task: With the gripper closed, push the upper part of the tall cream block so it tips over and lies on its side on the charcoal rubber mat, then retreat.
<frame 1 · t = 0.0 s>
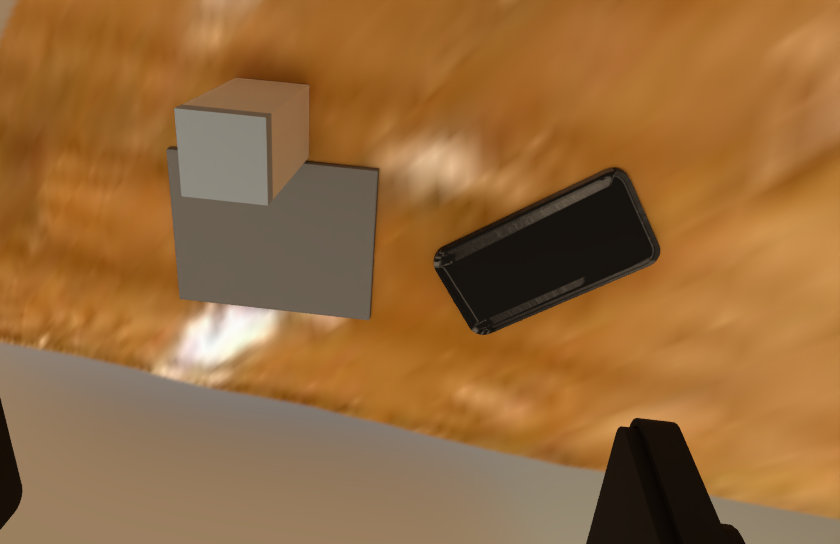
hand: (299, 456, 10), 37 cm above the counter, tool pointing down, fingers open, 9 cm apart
mat: (275, 235, 49), on the counter
phone: (543, 251, 48), on the counter
block: (273, 118, 45), on the counter
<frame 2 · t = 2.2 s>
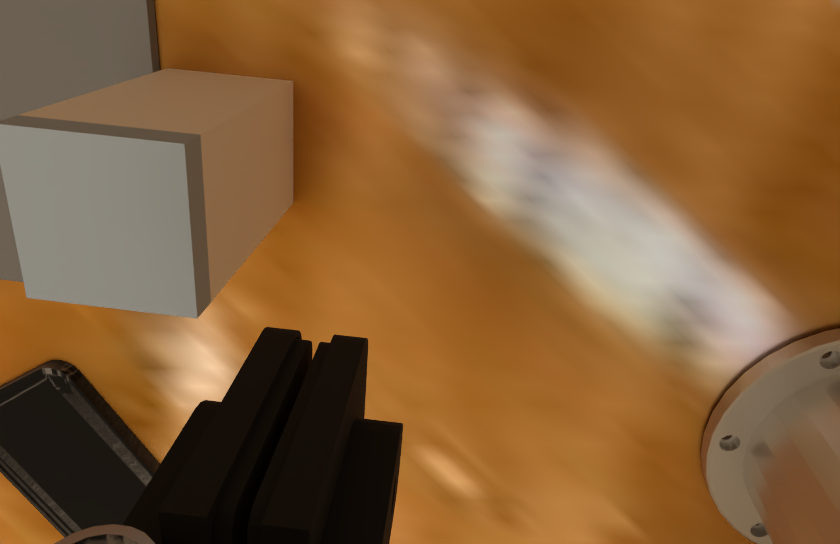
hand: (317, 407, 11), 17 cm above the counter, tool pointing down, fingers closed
mat: (23, 115, 27), on the counter
phone: (109, 479, 36), on the counter
block: (232, 137, 26), on the counter
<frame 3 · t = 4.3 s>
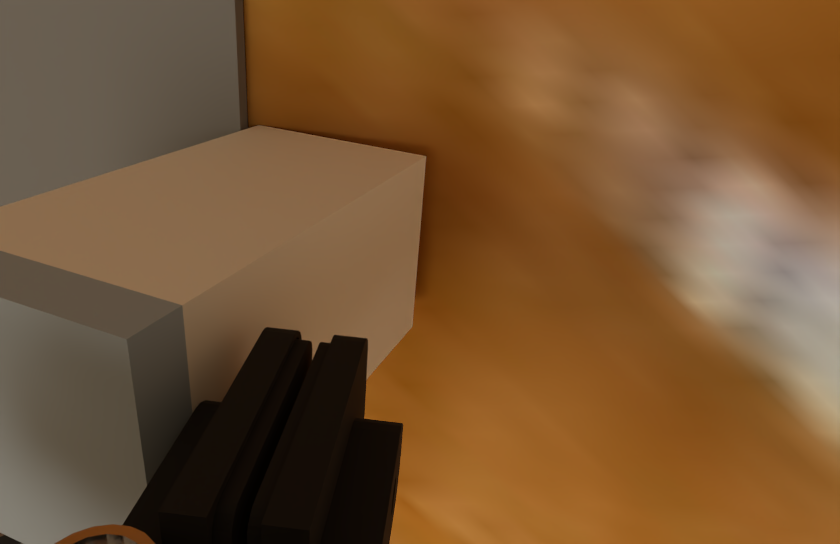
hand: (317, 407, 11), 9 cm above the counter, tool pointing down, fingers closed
mat: (53, 188, 19), on the counter
block: (336, 227, 18), point 1 cm above the counter, tilted 17°, touching gripper
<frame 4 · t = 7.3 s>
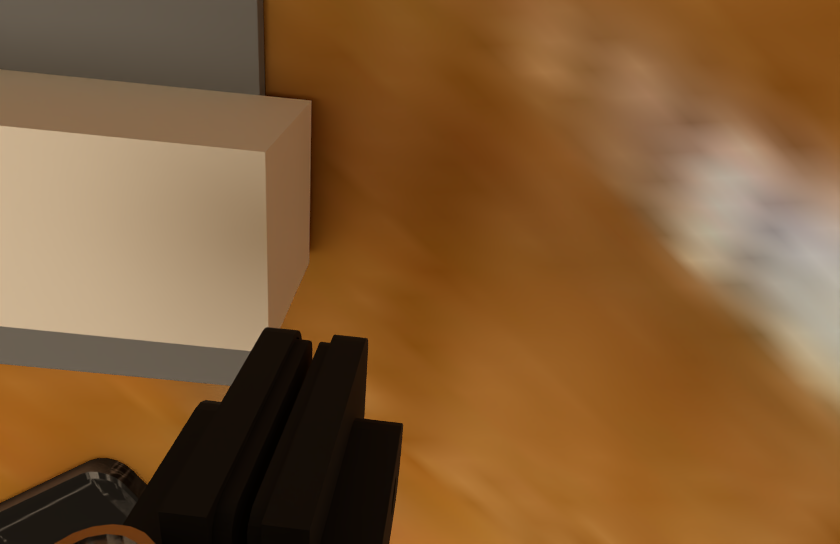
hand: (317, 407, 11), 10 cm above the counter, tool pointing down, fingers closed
mat: (68, 156, 20), on the counter
block: (291, 218, 17), point 3 cm above the counter, tilted 90°, touching mat
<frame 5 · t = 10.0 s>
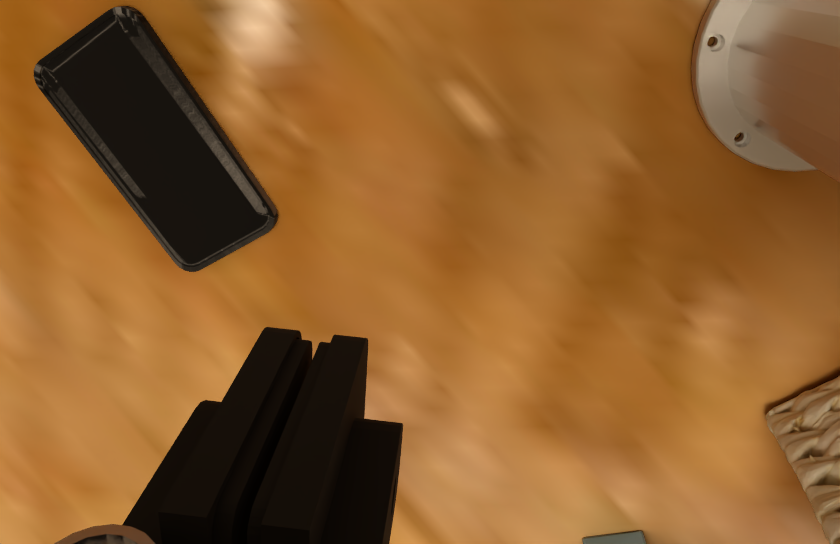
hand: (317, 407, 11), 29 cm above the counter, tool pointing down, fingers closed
phone: (166, 145, 40), on the counter
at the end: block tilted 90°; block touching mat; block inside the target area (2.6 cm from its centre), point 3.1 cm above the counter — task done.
